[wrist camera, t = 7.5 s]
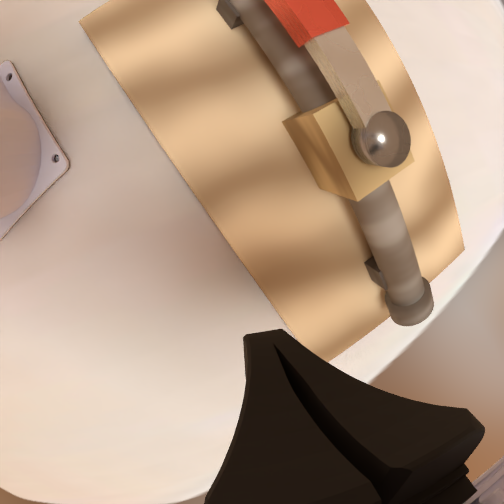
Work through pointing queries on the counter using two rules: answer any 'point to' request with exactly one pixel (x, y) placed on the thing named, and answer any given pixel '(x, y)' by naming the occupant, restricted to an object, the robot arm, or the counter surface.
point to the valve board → (289, 160)
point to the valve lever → (347, 78)
